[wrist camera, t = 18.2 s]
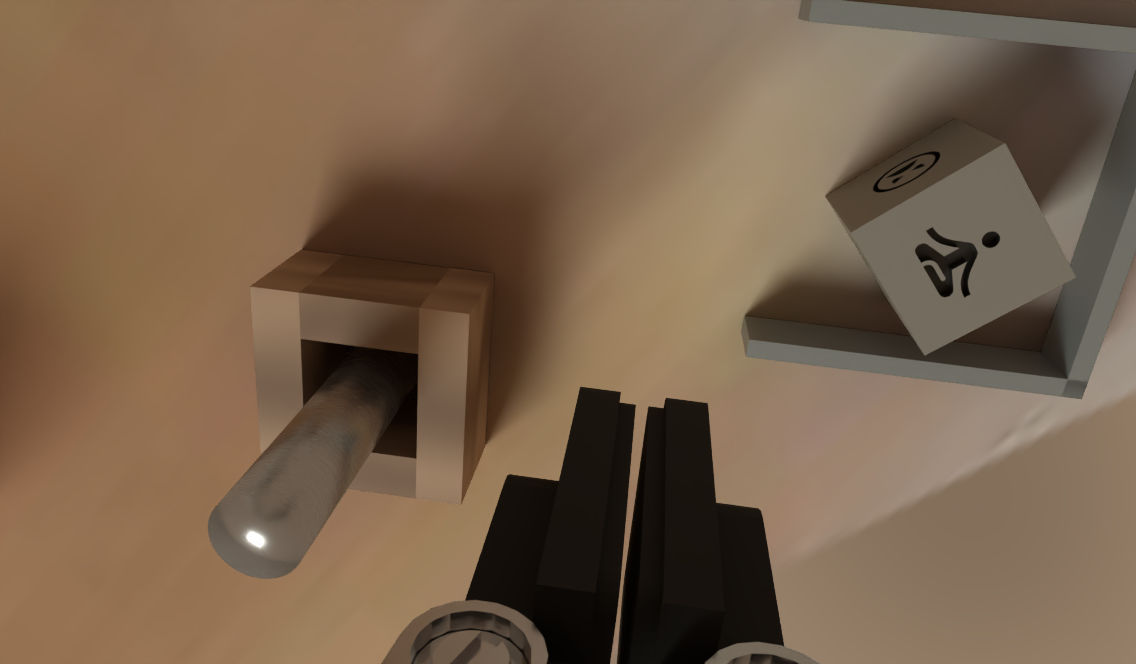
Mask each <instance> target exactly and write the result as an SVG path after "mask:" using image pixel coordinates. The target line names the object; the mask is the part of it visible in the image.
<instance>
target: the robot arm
mask: <svg viewBox="0 0 1136 664" xmlns="http://www.w3.org/2000/svg"><path fill="white" fill-rule="evenodd" d="M620 394H621V392H616V391H609V390H601V389H593V388H585V387H580V390H579V395H578V399H577V404H576V408H575V413H574V417H573V421H572V426H571V430H570V435H569V439H568V444H567V448H566V453H565V457H564V461H563V466H562V470H561V475H560V479H559V481H554V480H547V479H539V478H532V477H525V476H517V475H510V474H509V475H508V476H507V478H506V480H505V482H504V485H503V488H502V491H501V494H500V497H499V500H498V503H497V506H496V509H495V512H494V515H493V518H492V521H491V524H490V527H489V530H488V533H487V536H486V540H485V543H484V546H483V549H482V552H481V555H480V558H479V561H478V564H477V567H476V570H475V573H474V576H473V579H472V582H471V585H470V588H469V591H468V594H467V597H466V600H465V601H455V602H450V603H447V604H444V605H440V606H437V607H434V608H431V609H430V610H428V611H426V612H425V613H423V614H421V615H420V616H418V617H416V618H415V619H413V620H412V622H411V623H410V624H409V625H408V626H407V627H406V628H405V629H404V630H403V631H402V633H401V634H400V635H399V637H398V638H397V640H396V641H395V643H394V645H393V646H392V648H391V649H390V651H389V652H388V654H387V655H386V657H385V659H384V660H383V662H382V663H381V664H610V659H611V652H612V645H613V638H614V631H615V623H616V616H617V607H618V599H619V590H620V580H621V569H622V557H623V546H624V534H625V523H626V511H627V499H628V488H629V476H630V465H631V453H632V442H633V430H634V418H635V407H636V405H633V404H626V403H619V402H620ZM617 664H819V663H818V662H816V661H815V660H813V659H811V658H810V657H808V656H807V655H805V654H803V653H800V652H797V651H795V650H792V649H790V648H787V647H784V642H783V636H782V630H781V624H780V618H779V612H778V606H777V600H776V594H775V589H774V582H773V576H772V570H771V564H770V558H769V552H768V546H767V540H766V534H765V528H764V522H763V517H762V513H761V511H760V510H759V509H758V508H751V507H743V506H736V505H729V504H721V503H716V497H715V485H714V473H713V461H712V449H711V437H710V424H709V412H708V404H707V403H702V402H694V401H686V400H678V399H671V398H666V400H665V404H664V408H657V407H648V413H647V419H646V426H645V434H644V441H643V448H642V455H641V462H640V469H639V476H638V483H637V491H636V498H635V505H634V512H633V519H632V526H631V533H630V541H629V548H628V555H627V562H626V569H625V577H624V585H623V595H622V606H621V619H620V631H619V643H618V656H617Z"/></svg>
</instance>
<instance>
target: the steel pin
mask: <svg viewBox="0 0 1136 664" xmlns="http://www.w3.org/2000/svg"><path fill="white" fill-rule="evenodd" d="M417 381H418V354H413V353H406V352H398V351H390V350H383V349H375V348H367V347H360V346H356V347H355V348H354V349H353V351H352V352H351V353H350V354H349V355H348V356H347V357H346V359H345V360H344V361H343V362H342V363H341V364H340V365H339V367H338V368H337V369H336V370H335V371H334V372H333V373H332V375H331V376H330V377H329V378H328V379H327V380H326V381H325V383H324V384H323V385H322V386H321V387H320V388H319V389H318V391H317V392H316V393H315V394H314V395H313V396H312V397H311V399H310V400H309V401H308V402H307V403H306V404H305V405H304V407H303V408H302V409H301V410H300V411H299V412H298V413H297V415H296V416H295V417H294V418H293V419H292V420H291V421H290V423H289V424H288V425H287V426H286V427H285V428H284V429H283V431H282V432H281V433H280V434H279V435H278V436H277V437H276V439H275V440H274V441H273V442H272V443H271V444H270V445H269V447H268V448H267V449H266V450H265V451H264V452H263V453H262V455H261V456H260V457H259V458H258V459H257V460H256V461H255V463H254V464H253V465H252V466H251V467H250V468H249V469H248V471H247V472H246V473H245V474H244V475H243V476H242V477H241V479H240V480H239V481H238V482H237V483H236V484H235V485H234V487H233V488H232V489H231V490H230V491H229V492H228V493H227V495H226V496H225V497H224V498H223V499H222V500H221V501H220V503H219V504H218V505H217V506H216V507H215V508H214V510H213V511H212V513H211V515H210V518H209V521H208V533H209V538H210V541H211V543H212V545H213V547H214V549H215V551H216V552H217V554H218V555H219V556H220V557H221V558H222V559H223V560H224V561H225V562H226V563H227V564H228V565H229V566H231V567H232V568H234V569H235V570H237V571H239V572H241V573H243V574H246V575H249V576H252V577H256V578H263V579H271V578H278V577H281V576H284V575H286V574H288V573H290V572H292V571H293V570H294V569H295V568H296V567H297V566H298V565H299V563H300V562H301V560H302V559H303V557H304V555H305V554H306V552H307V551H308V549H309V548H310V546H311V545H312V543H313V541H314V540H315V538H316V537H317V535H318V534H319V532H320V531H321V529H322V528H323V526H324V524H325V523H326V521H327V520H328V518H329V517H330V515H331V514H332V512H333V511H334V509H335V507H336V506H337V504H338V503H339V501H340V500H341V498H342V497H343V495H344V494H345V492H346V490H347V489H348V487H349V486H350V484H351V483H352V481H353V480H354V478H355V477H356V475H357V473H358V472H359V470H360V469H361V467H362V466H363V464H364V463H365V461H366V460H367V458H368V456H369V455H370V453H371V452H372V450H373V449H374V447H375V446H376V444H377V443H378V441H379V439H380V438H381V436H382V435H383V433H384V432H385V430H386V429H387V427H388V426H389V424H390V422H391V421H392V419H393V418H394V416H395V415H396V413H397V412H398V410H399V409H400V407H401V405H402V404H403V402H404V401H405V399H406V398H407V396H408V395H409V393H410V392H411V390H412V388H413V387H414V385H415V384H416V382H417Z"/></svg>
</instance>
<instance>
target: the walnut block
mask: <svg viewBox="0 0 1136 664" xmlns="http://www.w3.org/2000/svg"><path fill="white" fill-rule="evenodd" d="M494 277H495V273H488V272H480V271H472V270H464V269H455V268H447V267H439V266H431V265H423V264H414V263H406V262H398V261H390V260H381V259H373V258H365V257H357V256H349V255H340V254H332V253H324V252H316V251H307V250H300V251H299V252H297V253H296V254H294V255H293V256H292V257H290V258H289V259H288V260H286V261H285V262H283V263H282V264H281V265H279V266H278V267H276V268H275V269H274V270H272V271H271V272H269V273H268V274H267V275H265V276H264V277H262V278H261V279H260V280H258V281H257V282H256V283H254V284H253V285H251V286H250V296H251V311H252V326H253V342H254V357H255V372H256V387H257V402H258V417H259V433H260V448H261V455H262V453H263V452H264V451H265V450H266V449H267V448H268V447H269V445H270V444H271V443H272V442H273V441H274V440H275V439H276V437H277V436H278V435H279V434H280V433H281V432H282V431H283V429H284V428H285V427H286V426H287V425H288V424H289V423H290V421H291V420H292V419H293V418H294V417H295V416H296V415H297V413H298V412H299V411H300V410H301V409H302V408H303V407H304V405H305V404H306V403H307V402H308V401H309V400H310V399H311V397H312V396H313V395H314V394H315V393H316V392H317V391H318V389H319V388H320V387H321V386H322V385H323V384H324V383H325V381H326V380H327V379H328V378H329V377H330V376H331V375H332V373H333V372H334V371H335V370H336V369H337V368H338V367H339V365H340V364H341V363H342V362H343V361H344V360H345V359H346V345H352V346H360V347H367V348H375V349H383V350H390V351H398V352H406V353H413V354H418V401H417V400H409V399H405V401H404V402H403V404H402V405H401V407H400V409H399V410H398V412H397V413H396V415H395V416H394V418H393V419H392V421H391V422H390V424H389V426H388V427H387V429H386V430H385V432H384V433H383V435H382V436H381V438H380V439H379V441H378V443H377V444H376V446H375V447H374V449H373V450H372V452H371V453H370V455H369V456H368V458H367V460H366V461H365V463H364V464H363V466H362V467H361V469H360V470H359V472H358V473H357V475H356V477H355V478H354V480H353V481H352V483H351V484H350V486H349V487H348V489H353V490H360V491H367V492H374V493H381V494H388V495H395V496H402V497H409V498H416V499H423V500H430V501H437V502H444V503H451V504H458V505H461V504H462V502H463V499H464V497H465V494H466V492H467V489H468V487H469V484H470V482H471V480H472V477H473V475H474V472H475V470H476V467H477V465H478V462H479V460H480V458H481V455H482V453H483V450H484V448H485V440H486V422H487V404H488V386H489V367H490V349H491V331H492V313H493V295H494Z"/></svg>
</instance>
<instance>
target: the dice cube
mask: <svg viewBox="0 0 1136 664" xmlns="http://www.w3.org/2000/svg"><path fill="white" fill-rule="evenodd" d="M825 197H826V198H827V200H828V202H829V203H830V205H831V207H832V208H833V210H834V212H835V213H836V215H837V217H838V218H839V220H840V221H841V223H842V225H843V226H844V228H845V230H846V231H847V233H848V235H849V236H850V238H851V240H852V241H853V243H854V245H855V246H856V248H857V250H858V251H859V253H860V255H861V256H862V258H863V260H864V261H865V263H866V265H867V266H868V268H869V270H870V271H871V273H872V275H873V276H874V278H875V280H876V281H877V283H878V285H879V286H880V288H881V290H882V291H883V293H884V295H885V296H886V298H887V300H888V301H889V303H890V304H891V306H892V307H893V309H894V310H895V312H896V313H897V315H898V316H899V318H900V319H901V321H902V322H903V324H904V325H905V327H906V328H907V330H908V331H909V333H910V334H911V336H912V337H913V339H914V340H915V342H916V343H917V345H918V346H919V348H920V349H921V351H922V352H923V354H924V355H927V354H929V353H931V352H933V351H935V350H936V349H938V348H940V347H942V346H944V345H946V344H948V343H950V342H952V341H954V340H956V339H958V338H960V337H962V336H964V335H966V334H967V333H969V332H971V331H973V330H975V329H977V328H979V327H981V326H983V325H985V324H987V323H989V322H991V321H993V320H995V319H997V318H998V317H1000V316H1002V315H1004V314H1006V313H1008V312H1010V311H1012V310H1014V309H1016V308H1018V307H1020V306H1022V305H1024V304H1026V303H1028V302H1029V301H1031V300H1033V299H1035V298H1037V297H1039V296H1041V295H1043V294H1045V293H1047V292H1049V291H1051V290H1053V289H1055V288H1057V287H1059V286H1061V285H1062V284H1064V283H1066V282H1068V281H1070V280H1072V279H1074V278H1076V276H1075V274H1074V273H1073V271H1072V269H1071V267H1070V265H1069V263H1068V261H1067V259H1066V257H1065V255H1064V254H1063V252H1062V250H1061V248H1060V246H1059V244H1058V242H1057V240H1056V238H1055V236H1054V235H1053V233H1052V231H1051V229H1050V227H1049V225H1048V223H1047V221H1046V219H1045V217H1044V216H1043V214H1042V212H1041V210H1040V208H1039V206H1038V204H1037V202H1036V200H1035V198H1034V197H1033V195H1032V193H1031V191H1030V189H1029V187H1028V185H1027V183H1026V181H1025V179H1024V178H1023V176H1022V174H1021V172H1020V170H1019V168H1018V166H1017V164H1016V162H1015V160H1014V159H1013V157H1012V155H1011V153H1010V151H1009V149H1008V147H1007V145H1006V143H1004V142H1002V141H1000V140H998V139H996V138H994V137H992V136H990V135H988V134H986V133H984V132H982V131H980V130H978V129H976V128H974V127H972V126H970V125H968V124H966V123H964V122H962V121H960V120H958V119H956V118H954V119H952V120H951V121H949V122H947V123H946V124H944V125H942V126H941V127H939V128H937V129H936V130H934V131H932V132H931V133H929V134H927V135H926V136H924V137H922V138H921V139H919V140H917V141H916V142H914V143H912V144H911V145H909V146H907V147H906V148H904V149H902V150H901V151H899V152H897V153H896V154H894V155H892V156H891V157H889V158H887V159H886V160H884V161H882V162H881V163H879V164H877V165H876V166H874V167H872V168H871V169H869V170H867V171H866V172H864V173H862V174H861V175H859V176H858V177H856V178H854V179H853V180H851V181H849V182H848V183H846V184H844V185H843V186H841V187H839V188H838V189H836V190H834V191H833V192H831V193H829V194H828V195H826V196H825Z"/></svg>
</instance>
